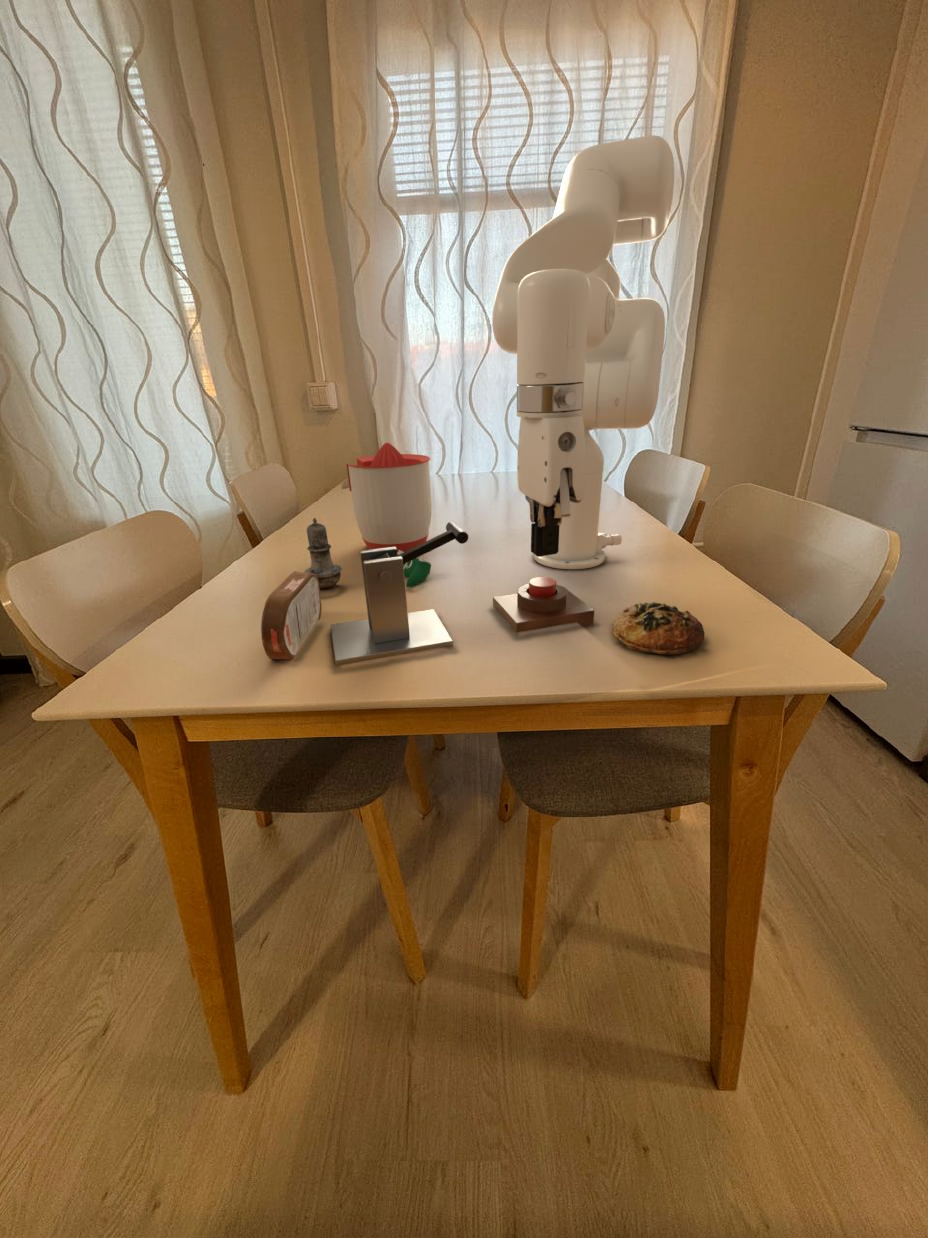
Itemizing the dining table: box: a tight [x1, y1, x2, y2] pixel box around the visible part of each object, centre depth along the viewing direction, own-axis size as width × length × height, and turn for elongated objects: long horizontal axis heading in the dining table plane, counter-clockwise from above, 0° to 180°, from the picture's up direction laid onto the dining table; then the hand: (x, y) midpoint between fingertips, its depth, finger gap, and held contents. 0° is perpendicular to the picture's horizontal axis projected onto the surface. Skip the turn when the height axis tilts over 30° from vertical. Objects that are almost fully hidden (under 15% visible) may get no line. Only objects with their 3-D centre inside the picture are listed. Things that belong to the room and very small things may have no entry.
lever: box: [373, 521, 469, 564], centre depth 60 cm, size 12×5×2 cm, turn 107°
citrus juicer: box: [341, 442, 433, 554], centre depth 97 cm, size 16×17×20 cm
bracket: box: [330, 547, 454, 666], centre depth 61 cm, size 14×10×12 cm
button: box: [528, 576, 557, 597], centre depth 67 cm, size 4×4×2 cm
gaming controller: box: [397, 550, 432, 588], centre depth 83 cm, size 9×4×6 cm
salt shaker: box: [303, 517, 343, 590], centre depth 78 cm, size 6×6×12 cm
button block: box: [492, 583, 595, 633], centre depth 68 cm, size 11×9×4 cm
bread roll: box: [612, 601, 706, 656], centre depth 62 cm, size 11×11×5 cm
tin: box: [260, 570, 322, 661], centre depth 63 cm, size 15×3×8 cm, turn 178°
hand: (544, 553), depth 66 cm, fingers closed
